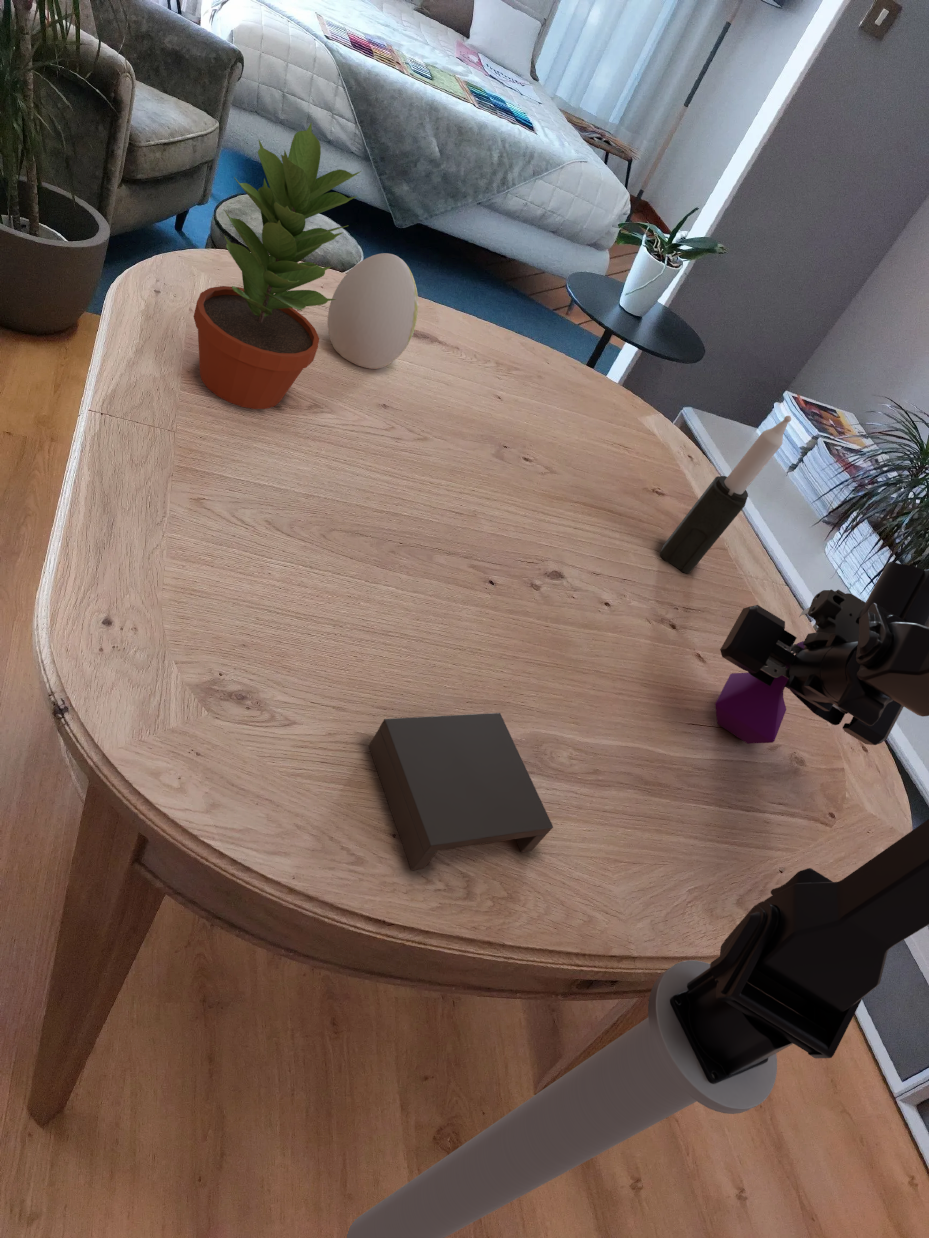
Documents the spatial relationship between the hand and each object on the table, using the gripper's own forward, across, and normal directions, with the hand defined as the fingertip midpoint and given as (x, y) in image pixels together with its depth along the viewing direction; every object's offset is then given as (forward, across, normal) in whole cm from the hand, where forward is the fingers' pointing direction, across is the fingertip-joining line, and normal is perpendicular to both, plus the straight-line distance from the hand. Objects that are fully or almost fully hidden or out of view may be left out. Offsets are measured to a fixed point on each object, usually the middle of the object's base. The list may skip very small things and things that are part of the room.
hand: (776, 676), depth 95 cm
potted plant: (+10, +72, +1) cm, 73 cm away
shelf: (-18, +27, +29) cm, 44 cm away
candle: (+25, +12, -13) cm, 30 cm away
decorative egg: (+27, +67, -16) cm, 74 cm away
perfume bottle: (+4, 0, +6) cm, 8 cm away
